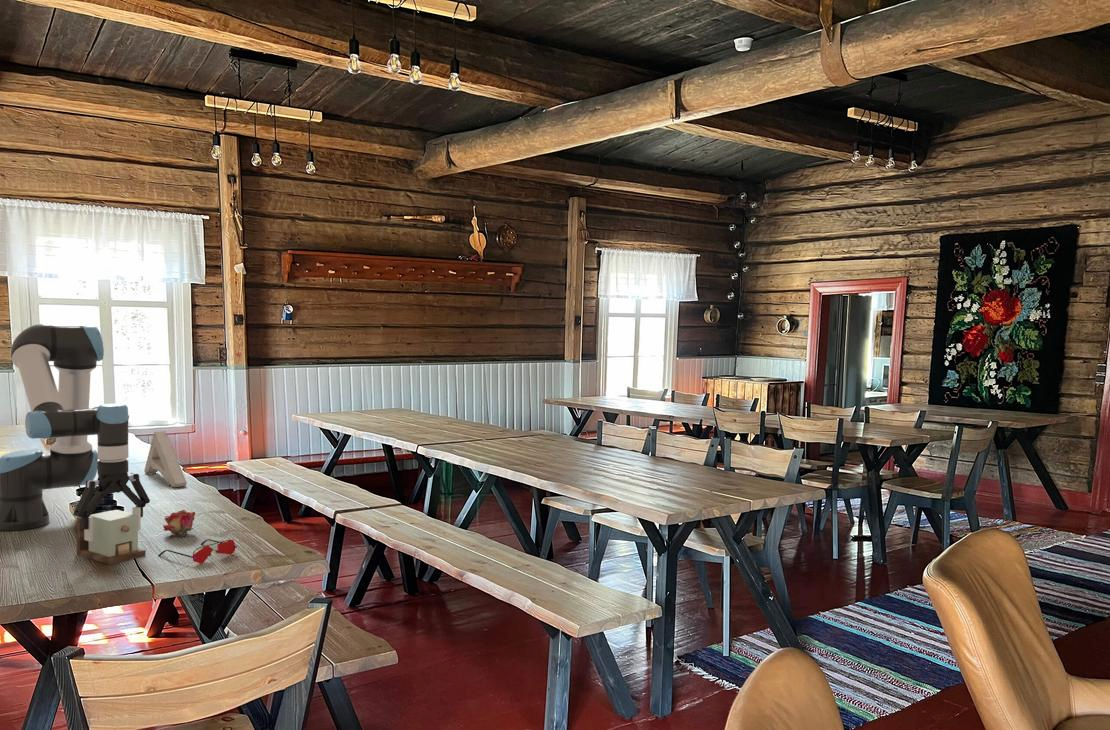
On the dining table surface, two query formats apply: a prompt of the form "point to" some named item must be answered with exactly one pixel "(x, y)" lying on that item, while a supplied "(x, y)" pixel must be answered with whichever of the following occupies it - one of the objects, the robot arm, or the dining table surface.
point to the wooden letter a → (164, 460)
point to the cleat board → (120, 555)
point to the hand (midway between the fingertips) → (113, 534)
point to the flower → (179, 522)
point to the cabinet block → (113, 531)
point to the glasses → (210, 550)
